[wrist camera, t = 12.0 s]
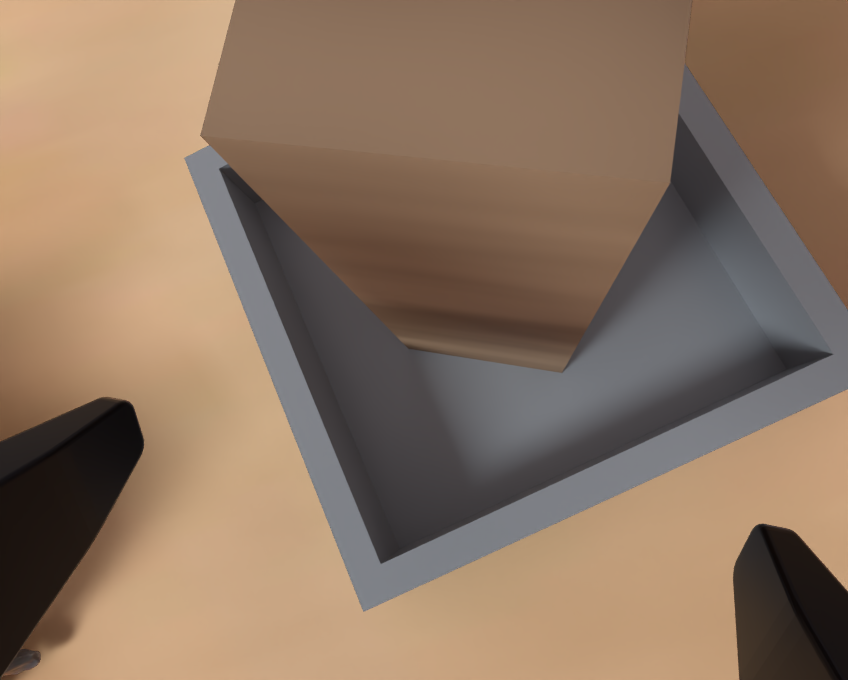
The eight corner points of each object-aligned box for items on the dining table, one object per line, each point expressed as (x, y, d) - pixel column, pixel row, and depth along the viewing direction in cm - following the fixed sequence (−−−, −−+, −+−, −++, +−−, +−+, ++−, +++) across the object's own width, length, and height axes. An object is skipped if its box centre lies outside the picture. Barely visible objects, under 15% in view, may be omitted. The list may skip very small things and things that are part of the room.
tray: (821, 385, 16) (888, 370, 13) (389, 585, 17) (363, 611, 14) (591, 20, 19) (605, -57, 16) (232, 201, 20) (184, 157, 17)
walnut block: (561, 373, 17) (669, 182, 5) (408, 348, 18) (200, 136, 6) (586, 204, 18) (726, -289, 6) (438, 188, 18) (307, -277, 7)
